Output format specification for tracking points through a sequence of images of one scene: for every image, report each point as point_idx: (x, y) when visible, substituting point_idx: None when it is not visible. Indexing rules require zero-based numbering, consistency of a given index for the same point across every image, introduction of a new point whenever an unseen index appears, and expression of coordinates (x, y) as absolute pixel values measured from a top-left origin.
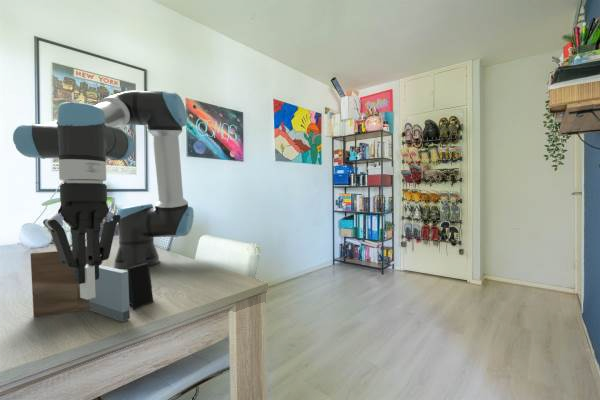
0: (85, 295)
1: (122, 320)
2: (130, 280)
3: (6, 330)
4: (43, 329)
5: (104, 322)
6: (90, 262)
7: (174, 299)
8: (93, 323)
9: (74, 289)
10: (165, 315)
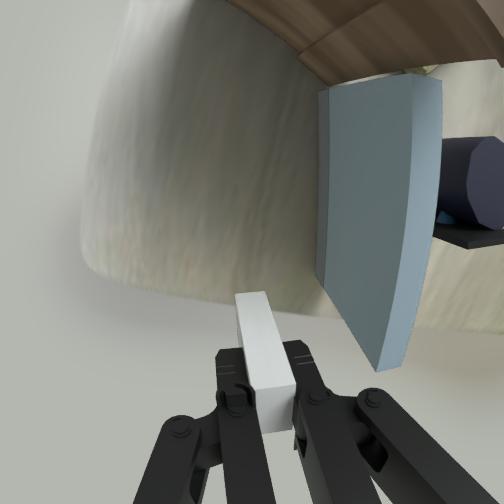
0: (238, 335)
1: (315, 274)
2: (435, 236)
3: (121, 26)
4: (177, 108)
5: (294, 222)
6: (295, 421)
7: (453, 249)
8: (275, 200)
9: (317, 26)
10: None
